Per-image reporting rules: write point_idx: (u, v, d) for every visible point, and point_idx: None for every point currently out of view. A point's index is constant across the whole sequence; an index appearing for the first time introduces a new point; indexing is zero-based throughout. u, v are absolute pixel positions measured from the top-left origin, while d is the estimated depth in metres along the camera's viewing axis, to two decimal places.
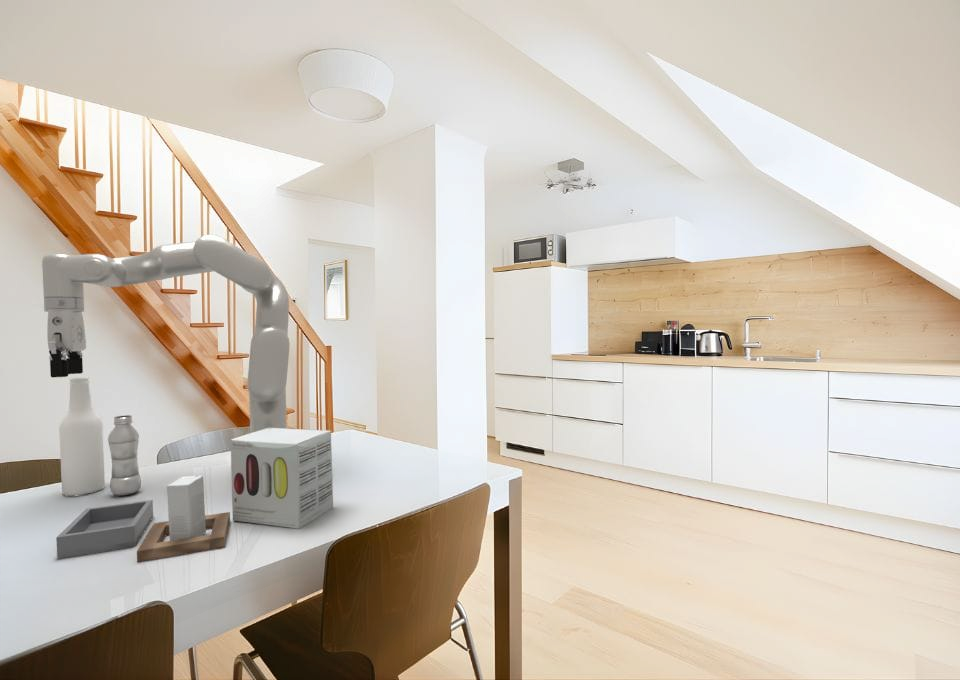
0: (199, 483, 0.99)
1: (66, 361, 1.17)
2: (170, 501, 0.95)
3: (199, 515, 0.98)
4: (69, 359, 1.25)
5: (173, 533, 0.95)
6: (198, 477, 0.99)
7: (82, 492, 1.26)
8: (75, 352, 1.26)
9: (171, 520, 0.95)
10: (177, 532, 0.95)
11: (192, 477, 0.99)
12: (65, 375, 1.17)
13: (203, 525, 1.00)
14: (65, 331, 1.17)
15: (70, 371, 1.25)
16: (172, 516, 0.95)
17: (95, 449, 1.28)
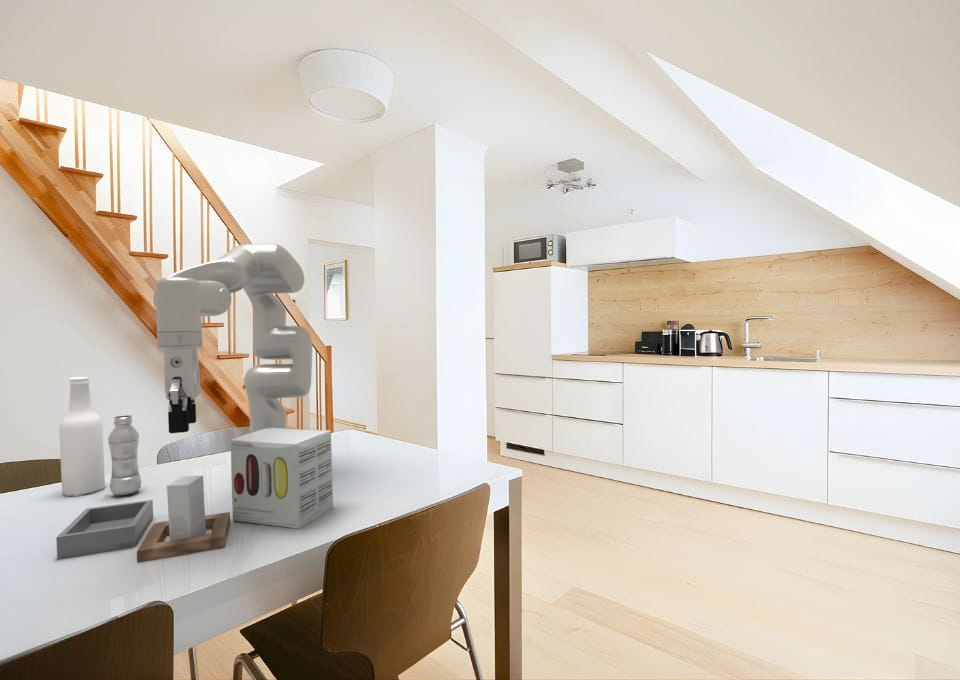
0: (199, 483, 0.99)
1: (187, 412, 0.93)
2: (170, 501, 0.95)
3: (199, 515, 0.98)
4: None
5: (173, 533, 0.95)
6: (198, 477, 0.99)
7: (82, 492, 1.26)
8: (187, 397, 1.02)
9: (171, 520, 0.95)
10: (177, 532, 0.95)
11: (192, 477, 0.99)
12: (186, 430, 0.93)
13: (203, 525, 1.00)
14: (186, 375, 0.93)
15: None
16: (172, 516, 0.95)
17: (95, 449, 1.28)
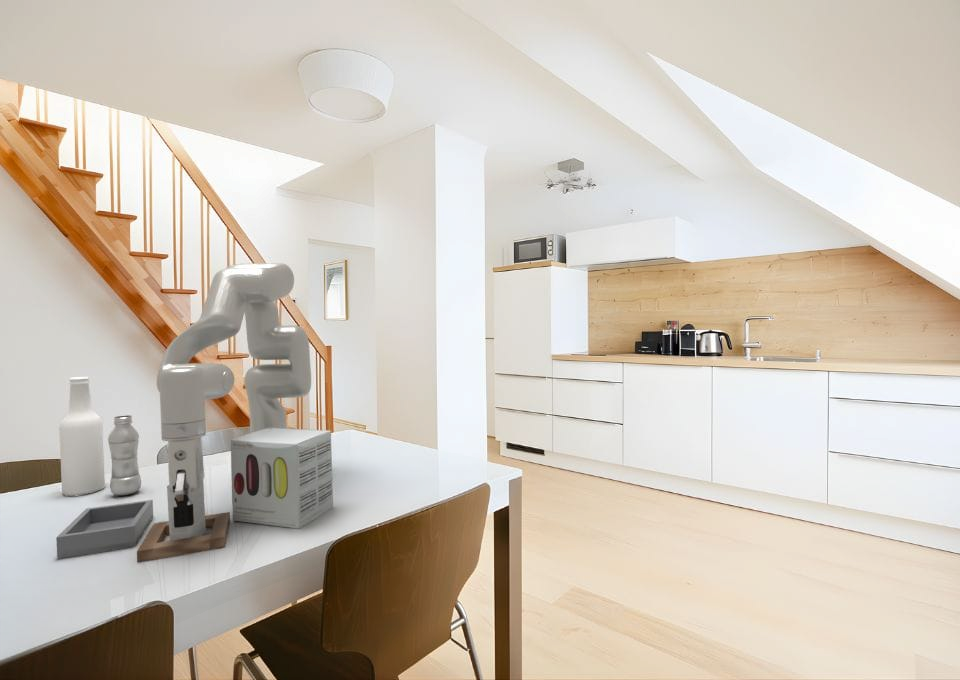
0: None
1: (192, 506, 0.95)
2: (170, 501, 0.94)
3: (199, 515, 0.98)
4: None
5: (173, 533, 0.95)
6: None
7: (82, 492, 1.26)
8: None
9: (171, 520, 0.95)
10: (177, 532, 0.95)
11: None
12: (191, 523, 0.94)
13: (203, 525, 1.00)
14: (190, 467, 0.93)
15: None
16: (172, 516, 0.95)
17: (95, 449, 1.28)
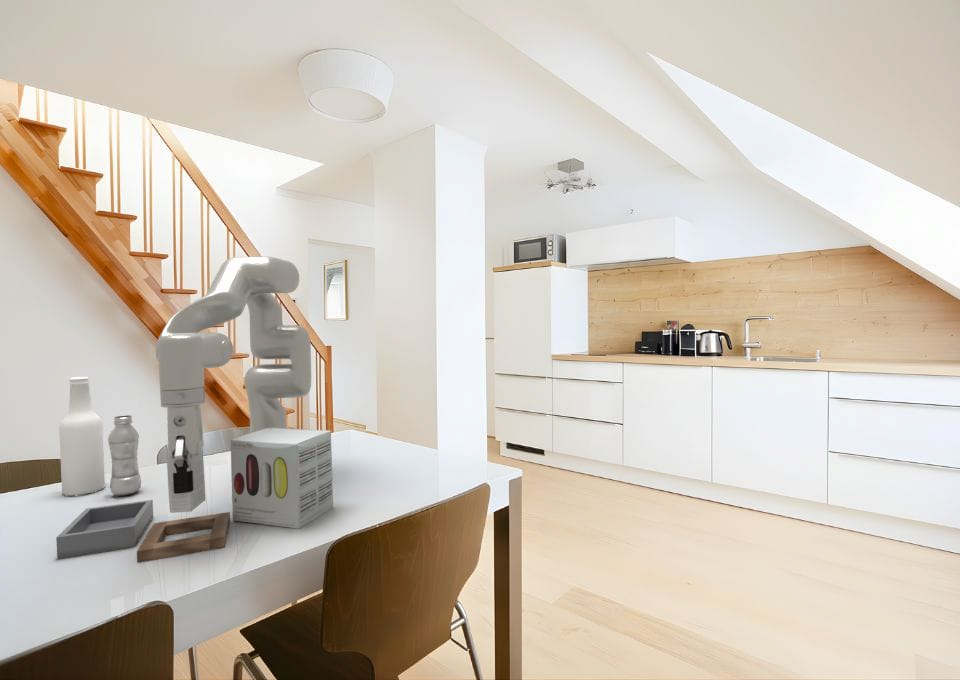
0: None
1: (191, 472, 0.95)
2: (169, 467, 0.95)
3: (199, 483, 0.99)
4: None
5: (173, 500, 0.95)
6: None
7: (82, 492, 1.26)
8: None
9: (171, 486, 0.95)
10: (177, 499, 0.95)
11: None
12: (190, 490, 0.95)
13: (203, 493, 1.00)
14: (189, 433, 0.93)
15: None
16: (172, 483, 0.95)
17: (95, 449, 1.28)
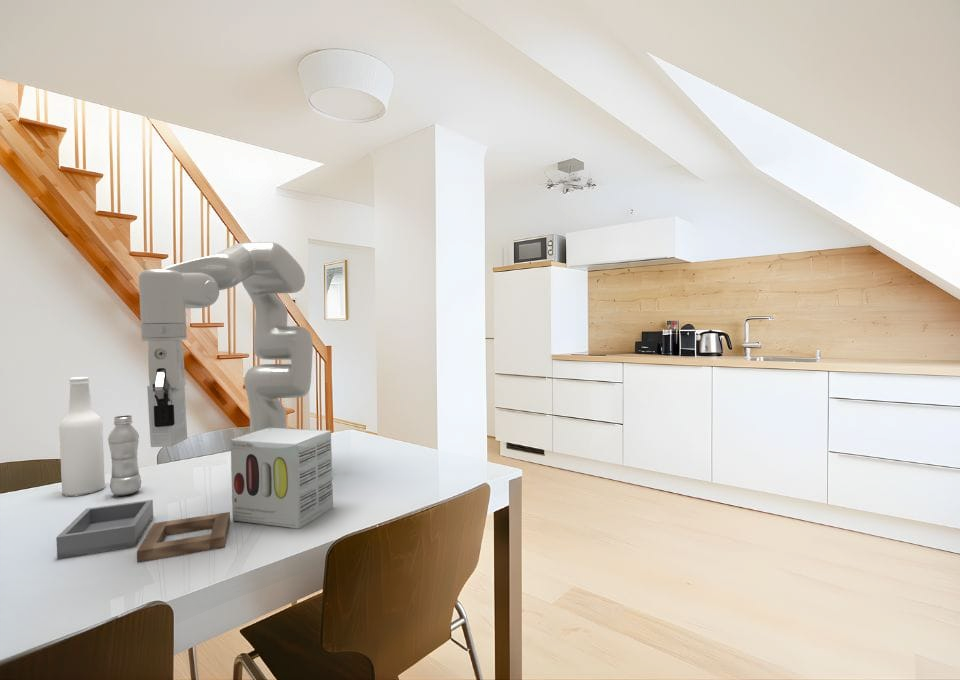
0: None
1: (172, 406, 0.95)
2: (150, 401, 0.95)
3: (180, 419, 0.99)
4: None
5: (154, 434, 0.95)
6: None
7: (82, 492, 1.26)
8: None
9: (152, 421, 0.95)
10: (158, 433, 0.95)
11: None
12: (171, 424, 0.95)
13: (184, 430, 1.00)
14: (170, 366, 0.93)
15: None
16: (153, 417, 0.95)
17: (95, 449, 1.28)
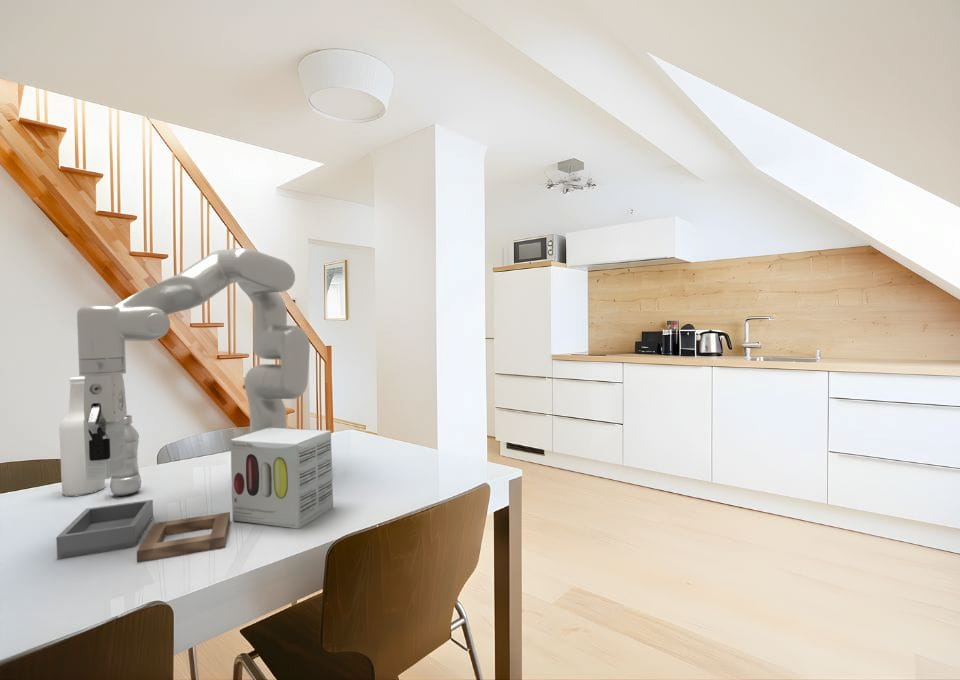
0: None
1: (108, 440, 0.97)
2: (86, 435, 0.97)
3: (118, 452, 1.00)
4: None
5: (90, 467, 0.97)
6: None
7: (82, 492, 1.26)
8: None
9: (88, 454, 0.97)
10: (94, 466, 0.97)
11: None
12: (107, 457, 0.96)
13: (123, 462, 1.02)
14: (105, 401, 0.95)
15: None
16: None
17: None
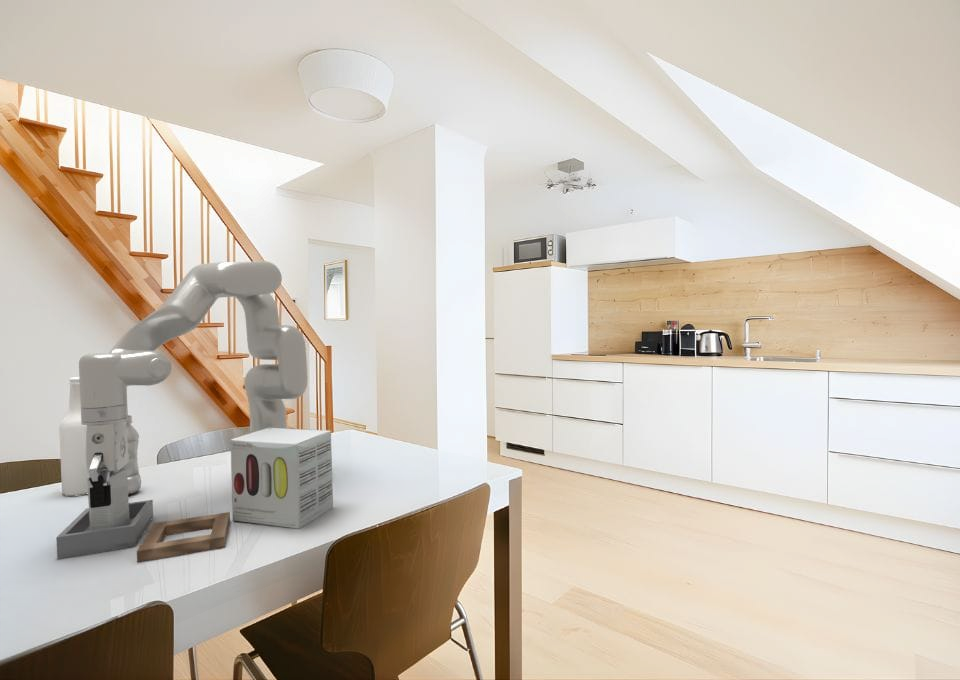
0: (122, 476, 1.01)
1: (109, 487, 0.96)
2: None
3: (122, 508, 1.01)
4: None
5: (94, 525, 0.97)
6: (121, 470, 1.02)
7: (82, 492, 1.26)
8: None
9: (91, 512, 0.97)
10: (98, 524, 0.97)
11: None
12: (108, 504, 0.96)
13: (126, 517, 1.02)
14: (107, 450, 0.96)
15: None
16: (92, 508, 0.97)
17: None
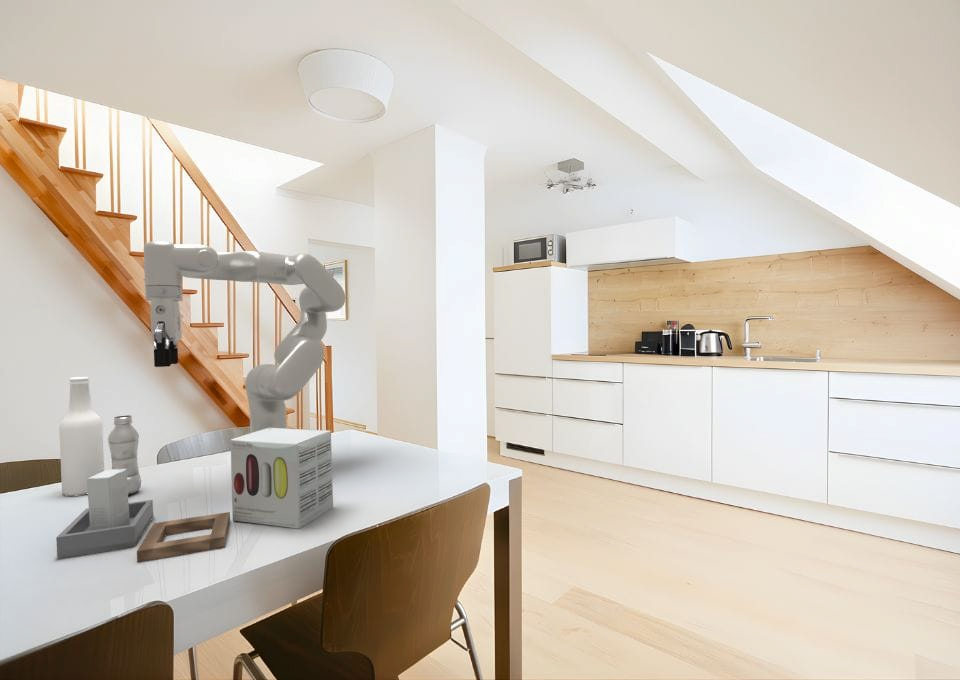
0: (122, 476, 1.01)
1: (169, 350, 1.15)
2: (90, 493, 0.97)
3: (121, 508, 1.01)
4: None
5: (94, 525, 0.97)
6: (121, 470, 1.02)
7: (82, 492, 1.26)
8: (170, 342, 1.24)
9: (91, 512, 0.97)
10: (98, 524, 0.97)
11: (115, 470, 1.02)
12: (168, 365, 1.15)
13: (126, 517, 1.02)
14: (168, 320, 1.15)
15: None
16: (92, 508, 0.97)
17: (95, 449, 1.28)
